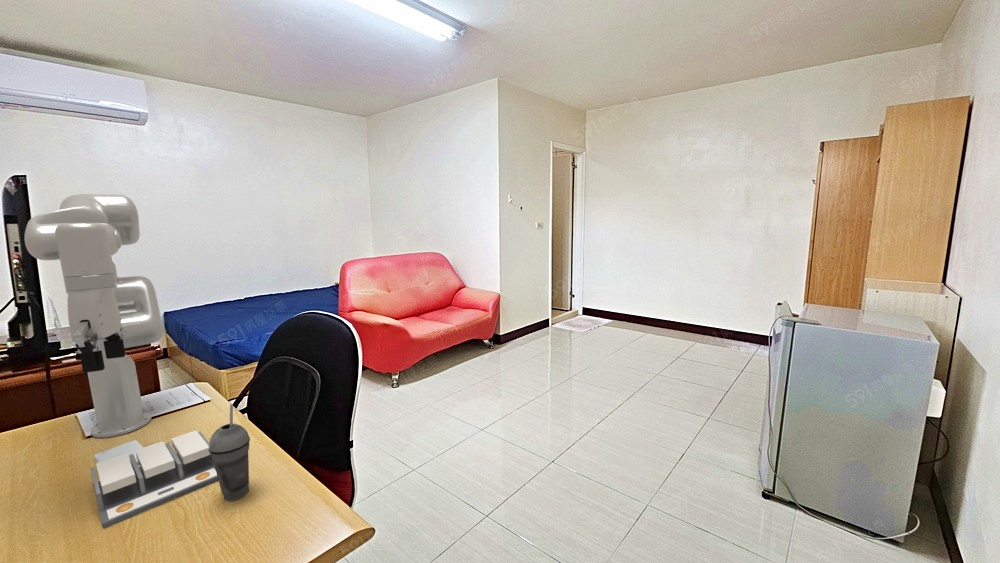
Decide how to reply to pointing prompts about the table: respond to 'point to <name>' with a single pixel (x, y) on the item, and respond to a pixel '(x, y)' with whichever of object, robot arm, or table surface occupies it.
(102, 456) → the hard drive
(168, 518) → the table surface
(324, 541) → the table surface
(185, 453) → the button
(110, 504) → the switch console
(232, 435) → the beverage cup
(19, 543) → the table surface
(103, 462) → the button
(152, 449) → the white rectangular block
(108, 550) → the table surface
